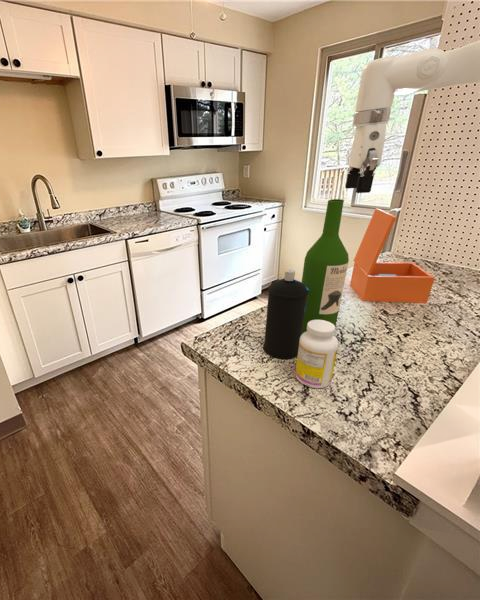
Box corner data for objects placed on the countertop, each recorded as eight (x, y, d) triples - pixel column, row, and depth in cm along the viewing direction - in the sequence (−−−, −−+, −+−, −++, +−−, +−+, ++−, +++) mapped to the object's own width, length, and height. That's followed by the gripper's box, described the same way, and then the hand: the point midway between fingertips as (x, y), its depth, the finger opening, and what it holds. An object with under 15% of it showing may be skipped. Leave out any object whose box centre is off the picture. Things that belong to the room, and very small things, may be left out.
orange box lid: (378, 208, 91) (375, 208, 91) (396, 217, 80) (393, 216, 80) (356, 261, 99) (353, 260, 99) (370, 275, 88) (367, 274, 88)
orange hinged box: (406, 285, 98) (413, 262, 94) (426, 303, 87) (435, 277, 84) (349, 284, 102) (354, 262, 99) (362, 301, 91) (368, 276, 88)
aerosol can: (281, 363, 69) (291, 281, 61) (255, 346, 76) (260, 269, 68) (308, 352, 72) (321, 272, 63) (280, 336, 79) (289, 262, 70)
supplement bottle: (316, 366, 67) (325, 314, 62) (338, 386, 61) (351, 330, 56) (288, 372, 67) (294, 320, 61) (307, 392, 61) (317, 337, 55)
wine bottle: (314, 343, 75) (337, 205, 61) (287, 326, 83) (303, 201, 69) (343, 334, 77) (371, 199, 63) (314, 318, 85) (334, 195, 71)
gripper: (404, 114, 69) (385, 193, 77) (375, 119, 84) (362, 185, 92) (365, 118, 72) (350, 195, 79) (344, 123, 86) (333, 187, 94)
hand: (356, 190), depth 85 cm, fingers open, 9 cm apart
